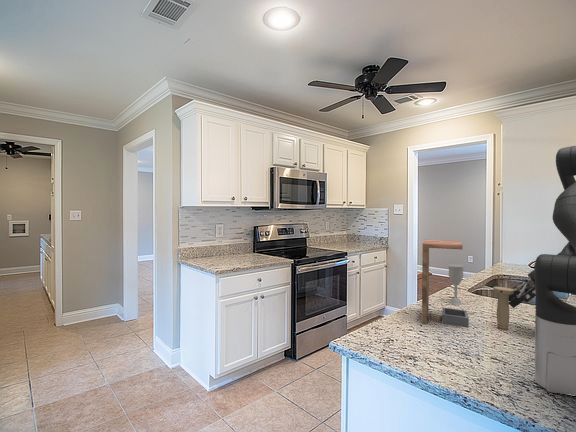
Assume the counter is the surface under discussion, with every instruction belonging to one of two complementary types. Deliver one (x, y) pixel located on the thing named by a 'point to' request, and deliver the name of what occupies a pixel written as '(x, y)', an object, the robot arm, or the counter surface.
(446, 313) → the socket
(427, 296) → the wooden l-shaped bracket
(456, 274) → the chalice
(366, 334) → the counter surface
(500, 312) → the tan headed rod
